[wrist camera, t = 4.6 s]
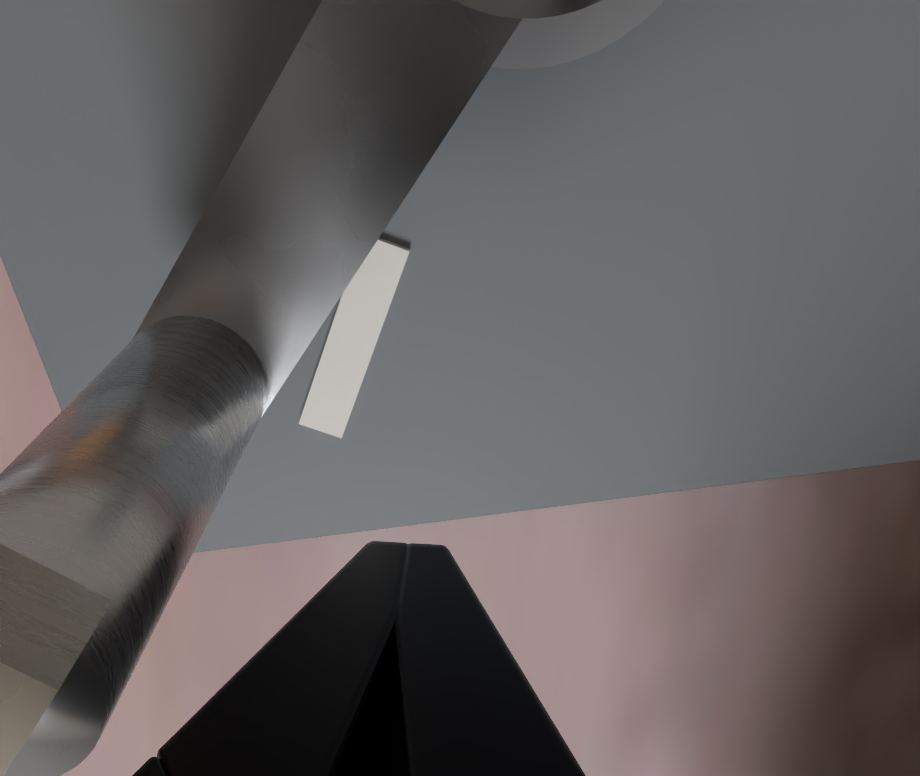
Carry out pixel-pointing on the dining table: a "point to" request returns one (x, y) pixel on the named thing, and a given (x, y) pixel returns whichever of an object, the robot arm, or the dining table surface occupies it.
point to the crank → (217, 355)
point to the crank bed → (511, 251)
